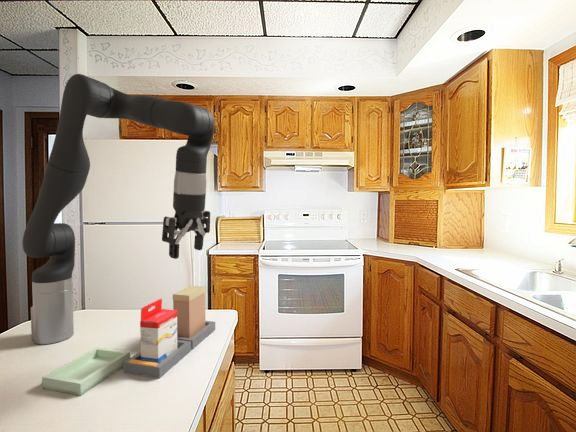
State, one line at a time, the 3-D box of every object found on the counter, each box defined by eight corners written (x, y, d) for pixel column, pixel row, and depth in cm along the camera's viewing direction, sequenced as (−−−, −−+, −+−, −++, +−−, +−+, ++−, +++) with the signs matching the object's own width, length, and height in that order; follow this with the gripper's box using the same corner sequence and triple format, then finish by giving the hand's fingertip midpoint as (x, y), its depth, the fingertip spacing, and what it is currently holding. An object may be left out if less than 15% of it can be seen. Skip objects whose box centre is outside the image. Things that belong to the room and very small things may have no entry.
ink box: (158, 371, 73) (157, 310, 72) (139, 369, 74) (139, 308, 73) (178, 353, 81) (177, 298, 80) (161, 351, 82) (160, 297, 81)
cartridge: (173, 343, 87) (172, 294, 86) (190, 330, 96) (190, 285, 95) (189, 345, 86) (189, 295, 85) (205, 331, 95) (205, 286, 94)
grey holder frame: (124, 372, 72) (124, 361, 72) (188, 326, 99) (188, 317, 98) (159, 378, 70) (159, 366, 70) (215, 329, 96) (215, 320, 96)
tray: (42, 388, 66) (42, 377, 66) (97, 356, 79) (96, 346, 79) (80, 395, 63) (80, 383, 63) (130, 361, 77) (130, 351, 77)
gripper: (197, 186, 83) (194, 244, 86) (155, 190, 70) (153, 257, 74) (220, 191, 80) (216, 250, 84) (180, 195, 67) (177, 265, 71)
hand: (186, 253), depth 79 cm, fingers open, 8 cm apart
